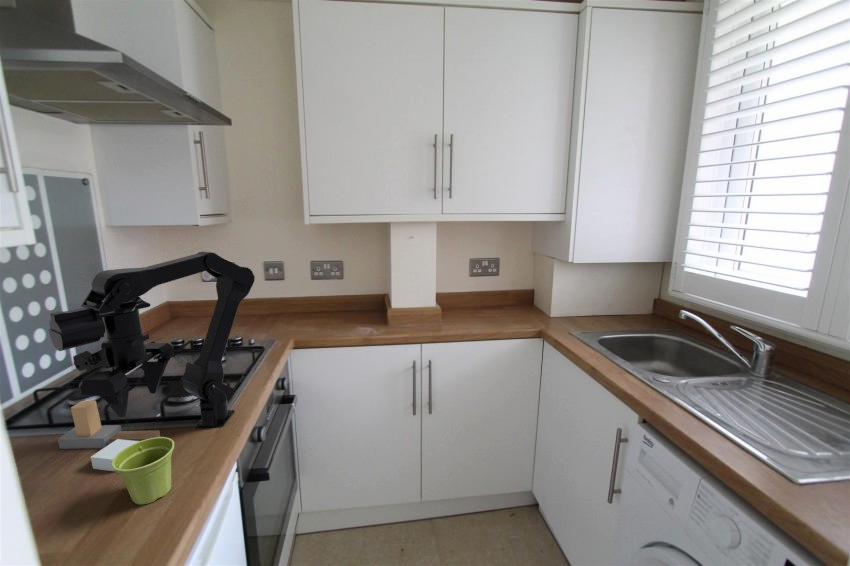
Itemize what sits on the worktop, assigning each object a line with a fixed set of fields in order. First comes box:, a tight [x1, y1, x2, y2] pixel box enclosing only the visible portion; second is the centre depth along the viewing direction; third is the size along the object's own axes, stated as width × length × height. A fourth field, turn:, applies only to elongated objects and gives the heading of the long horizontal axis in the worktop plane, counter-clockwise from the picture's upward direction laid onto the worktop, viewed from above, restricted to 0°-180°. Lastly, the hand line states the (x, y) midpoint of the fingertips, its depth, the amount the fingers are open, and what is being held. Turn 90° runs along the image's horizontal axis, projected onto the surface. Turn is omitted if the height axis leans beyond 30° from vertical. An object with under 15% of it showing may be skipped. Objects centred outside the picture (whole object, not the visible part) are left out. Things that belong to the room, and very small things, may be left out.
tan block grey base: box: [57, 399, 123, 450], centre depth 88 cm, size 5×10×10 cm, turn 91°
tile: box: [90, 439, 140, 472], centre depth 82 cm, size 6×6×3 cm
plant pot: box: [112, 436, 175, 505], centre depth 72 cm, size 9×9×9 cm
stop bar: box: [109, 430, 161, 444], centre depth 87 cm, size 3×9×2 cm, turn 91°
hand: (138, 404), depth 81 cm, fingers open, 9 cm apart
